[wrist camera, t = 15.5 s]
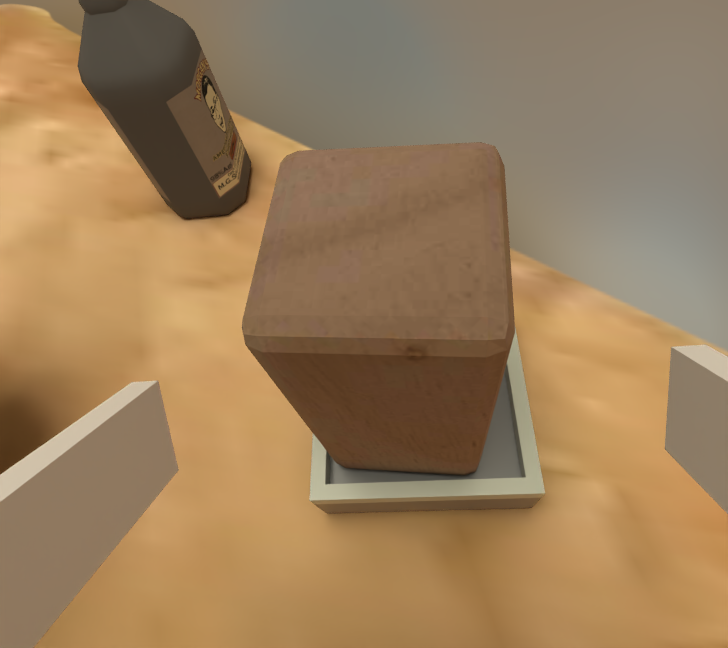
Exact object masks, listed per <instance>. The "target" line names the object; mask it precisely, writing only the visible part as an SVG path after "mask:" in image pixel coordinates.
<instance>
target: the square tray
mask: <svg viewBox="0 0 728 648" xmlns="http://www.w3.org/2000/svg"><path fill="white" fill-rule="evenodd" d="M544 494H545V490H544V484H543V479H542V473H541V468H540V462H539V457H538V451H537V445H536V440H535V434H534V429H533V423H532V418H531V412H530V407H529V401H528V396H527V390H526V384H525V379H524V373H523V368H522V362H521V357H520V351H519V346H518V340H517V335H516V329H515V334H514V338H513V342H512V345H511V349H510V353H509V356H508V360H507V364H506V367H505V371H504V375H503V378H502V382H501V386H500V390H499V393H498V397H497V401H496V404H495V408H494V412H493V415H492V419H491V423H490V426H489V430H488V434H487V437H486V441H485V445H484V449H483V452H482V456H481V460H480V462H479V465H478V467H477V470H476V472H473V473H470V474H467V475H453V474H437V473H421V472H404V471H388V470H372V469H356V468H345V467H343V466H341V465H339V464H337V463H336V462H335V461H334V460H333V458H332V457H331V456H330V455H329V453H328V452H327V451H326V449H325V448H324V447H323V445H322V444H321V443H320V441H319V440H318V439H317V438H316V436H315V435H314V434H313V441H312V461H311V482H310V501H311V502H312V503H314V504H315V505H316V506H318V507H319V508H320V509H321V510H323V511H324V512H325V513H362V512H398V511H435V510H472V509H509V508H532V507H533V506H534V504H535V503H536V502H537V501H538V500H539V499H540V498H541V497H542V496H543V495H544Z"/></svg>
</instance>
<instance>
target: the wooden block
mask: <svg viewBox="0 0 728 648" xmlns="http://www.w3.org/2000/svg"><path fill="white" fill-rule="evenodd" d="M242 330H243V335H244V340H245V345H246V346H247V347H248V349H249V350H250V351H251V353H252V354H253V355H254V356H255V358H256V359H257V360H258V362H259V363H260V364H261V366H262V367H263V368H264V370H265V371H266V372H267V373H268V375H269V376H270V377H271V379H272V380H273V381H274V383H275V384H276V385H277V387H278V388H279V389H280V390H281V392H282V393H283V394H284V396H285V397H286V398H287V400H288V401H289V402H290V404H291V405H292V406H293V407H294V409H295V410H296V411H297V413H298V414H299V415H300V417H301V418H302V419H303V421H304V422H305V423H306V424H307V426H308V427H309V428H310V430H311V431H312V432H313V434H314V435H315V436H316V438H317V439H318V440H319V441H320V443H321V444H322V445H323V447H324V448H325V449H326V451H327V452H328V453H329V455H330V456H331V457H332V458H333V460H334V461H335V462H336V463H337V464H339V465H341V466H343V467H345V468H356V469H372V470H388V471H404V472H421V473H437V474H453V475H467V474H470V473H473V472H476V470H477V467H478V465H479V462H480V460H481V456H482V452H483V449H484V445H485V441H486V437H487V434H488V430H489V426H490V423H491V419H492V415H493V412H494V408H495V404H496V401H497V397H498V393H499V390H500V386H501V382H502V378H503V375H504V371H505V367H506V364H507V360H508V356H509V353H510V349H511V345H512V342H513V338H514V334H515V322H514V307H513V292H512V276H511V261H510V246H509V231H508V216H507V202H506V185H505V169H504V164H503V162H502V160H501V157H500V155H499V153H498V151H497V149H496V147H495V146H492V145H489V144H485V143H481V142H476V143H456V144H434V145H415V146H414V145H413V146H393V147H392V146H391V147H372V148H371V147H370V148H349V149H329V150H307V151H297V152H294V153H292V154H290V155H287V156H286V157H285V158H284V159H283V160H282V162H281V163H280V167H279V171H278V176H277V180H276V184H275V188H274V192H273V196H272V200H271V204H270V209H269V213H268V217H267V221H266V225H265V229H264V233H263V237H262V242H261V246H260V250H259V254H258V258H257V262H256V266H255V270H254V275H253V279H252V283H251V287H250V291H249V295H248V299H247V303H246V308H245V312H244V316H243V322H242Z"/></svg>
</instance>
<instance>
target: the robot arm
mask: <svg viewBox="0 0 728 648" xmlns="http://www.w3.org/2000/svg"><path fill="white" fill-rule="evenodd" d="M665 450H666V451H667V452H668V453H669V454H670V455H671V456H672V457H673V458H674V459H675V460H676V461H677V462H678V463H679V464H680V465H681V466H682V467H683V468H684V469H685V470H686V471H687V472H688V474H689V475H690V476H691V477H692V478H693V479H694V480H695V481H696V482H697V483H698V484H699V485H700V486H701V487H702V488H703V489H704V490H705V491H706V492H707V493H708V494H709V495H710V496H711V497H712V498H713V499H714V500H715V501H716V502H717V503H718V504H719V505H720V506H721V507H722V509H723V510H724V511H725V512H726V513H727V514H728V357H727V356H726V355H724V354H722V353H720V352H718V351H716V350H714V349H712V348H711V347H709V346H707V345H693V346H678V347H671V360H670V376H669V391H668V407H667V423H666V439H665ZM177 471H178V466H177V461H176V457H175V453H174V448H173V444H172V439H171V435H170V431H169V426H168V422H167V418H166V413H165V409H164V404H163V400H162V396H161V391H160V387H159V382H158V381H144V382H131V383H130V384H129V385H127V386H126V387H124V388H123V389H121V390H120V391H119V392H117V393H116V394H114V395H113V396H111V397H110V398H109V399H107V400H106V401H104V402H103V403H101V404H100V405H99V406H97V407H96V408H94V409H93V410H92V411H90V412H89V413H87V414H86V415H84V416H83V417H82V418H80V419H79V420H77V421H76V422H74V423H73V424H72V425H70V426H69V427H67V428H66V429H64V430H63V431H62V432H60V433H59V434H57V435H56V436H54V437H53V438H52V439H50V440H49V441H47V442H46V443H45V444H43V445H42V446H40V447H39V448H37V449H36V450H35V451H33V452H32V453H30V454H29V455H27V456H26V457H25V458H23V459H22V460H20V461H19V462H17V463H16V464H15V465H13V466H12V467H10V468H9V469H7V470H6V471H5V472H3V473H2V474H0V648H34V646H35V645H36V644H37V643H38V641H39V640H40V639H41V638H42V637H43V635H44V634H45V633H46V632H47V630H48V629H49V628H50V627H51V625H52V624H53V623H54V622H55V621H56V619H57V618H58V617H59V616H60V614H61V613H62V612H63V611H64V610H65V608H66V607H67V606H68V605H69V603H70V602H71V601H72V600H73V599H74V597H75V596H76V595H77V594H78V592H79V591H80V590H81V589H82V588H83V586H84V585H85V584H86V583H87V581H88V580H89V579H90V578H91V577H92V575H93V574H94V573H95V572H96V570H97V569H98V568H99V567H100V566H101V564H102V563H103V562H104V561H105V559H106V558H107V557H108V556H109V555H110V553H111V552H112V551H113V550H114V548H115V547H116V546H117V545H118V544H119V542H120V541H121V540H122V539H123V537H124V536H125V535H126V534H127V533H128V531H129V530H130V529H131V528H132V526H133V525H134V524H135V523H136V522H137V520H138V519H139V518H140V517H141V515H142V514H143V513H144V512H145V511H146V509H147V508H148V507H149V506H150V504H151V503H152V502H153V501H154V499H155V498H156V497H157V496H158V495H159V493H160V492H161V491H162V490H163V488H164V487H165V486H166V485H167V484H168V482H169V481H170V480H171V479H172V477H173V476H174V475H175V474H176V473H177Z"/></svg>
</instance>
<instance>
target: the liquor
mask: <svg viewBox="0 0 728 648" xmlns="http://www.w3.org/2000/svg"><path fill="white" fill-rule="evenodd" d="M79 3H80V5H81V6H82V8H83V9H84V11H85V15H84V22H83V30H82V37H81V45H80V53H79V60H78V69H79V73H80V76H81V80H82V82H83V84H84V85H85V87H86V88H87V90H88V91H89V93H90V94H91V95H92V97H93V98H94V100H95V101H96V103H97V104H98V106H99V107H100V108H101V110H102V111H103V113H104V114H105V116H106V117H107V119H108V120H109V121H110V123H111V124H112V126H113V127H114V129H115V130H116V132H117V133H118V134H119V136H120V137H121V139H122V140H123V142H124V143H125V145H126V146H127V147H128V149H129V150H130V152H131V153H132V155H133V156H134V158H135V159H136V160H137V162H138V163H139V165H140V166H141V168H142V169H143V171H144V172H145V173H146V175H147V176H148V178H149V179H150V181H151V182H152V184H153V185H154V186H155V188H156V189H157V191H158V192H159V194H160V195H161V197H162V198H163V199H164V201H165V202H166V204H167V205H168V206H169V207H170V208H172V209H173V210H174V211H175V212H176V213H177V214H178V215H180V216H181V217H184V218H187V219H188V218H198V217H208V216H218V215H228V214H229V213H231V212H232V211H233V210H234V209H236V208H237V207H238V206H240V205H241V204H242V203H243V202H245V199H246V193H247V186H248V180H249V174H250V167H251V161H250V159H249V156H248V154H247V152H246V150H245V147H244V145H243V143H242V140H241V138H240V136H239V133H238V131H237V129H236V127H235V124H234V122H233V120H232V117H231V115H230V113H229V110H228V108H227V106H226V104H225V101H224V99H223V97H222V95H221V92H220V90H219V87H218V85H217V83H216V81H215V78H214V76H213V74H212V71H211V69H210V67H209V64H208V62H207V60H206V58H205V55H204V53H203V51H202V48H201V46H200V44H199V41H198V39H197V37H196V35H195V32H194V31H193V29H191V27H190V26H189V25H188V24H187V23H186V22H185V21H184V20H183V19H182V18H180V17H178V16H177V15H175V14H173V13H171V12H169V11H167V10H165V9H164V8H162V7H160V6H158V5H156V4H155V3H153V2H151V1H149V0H79Z"/></svg>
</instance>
